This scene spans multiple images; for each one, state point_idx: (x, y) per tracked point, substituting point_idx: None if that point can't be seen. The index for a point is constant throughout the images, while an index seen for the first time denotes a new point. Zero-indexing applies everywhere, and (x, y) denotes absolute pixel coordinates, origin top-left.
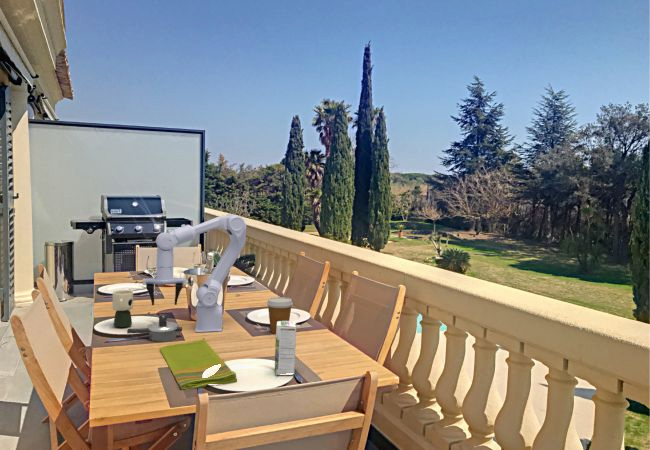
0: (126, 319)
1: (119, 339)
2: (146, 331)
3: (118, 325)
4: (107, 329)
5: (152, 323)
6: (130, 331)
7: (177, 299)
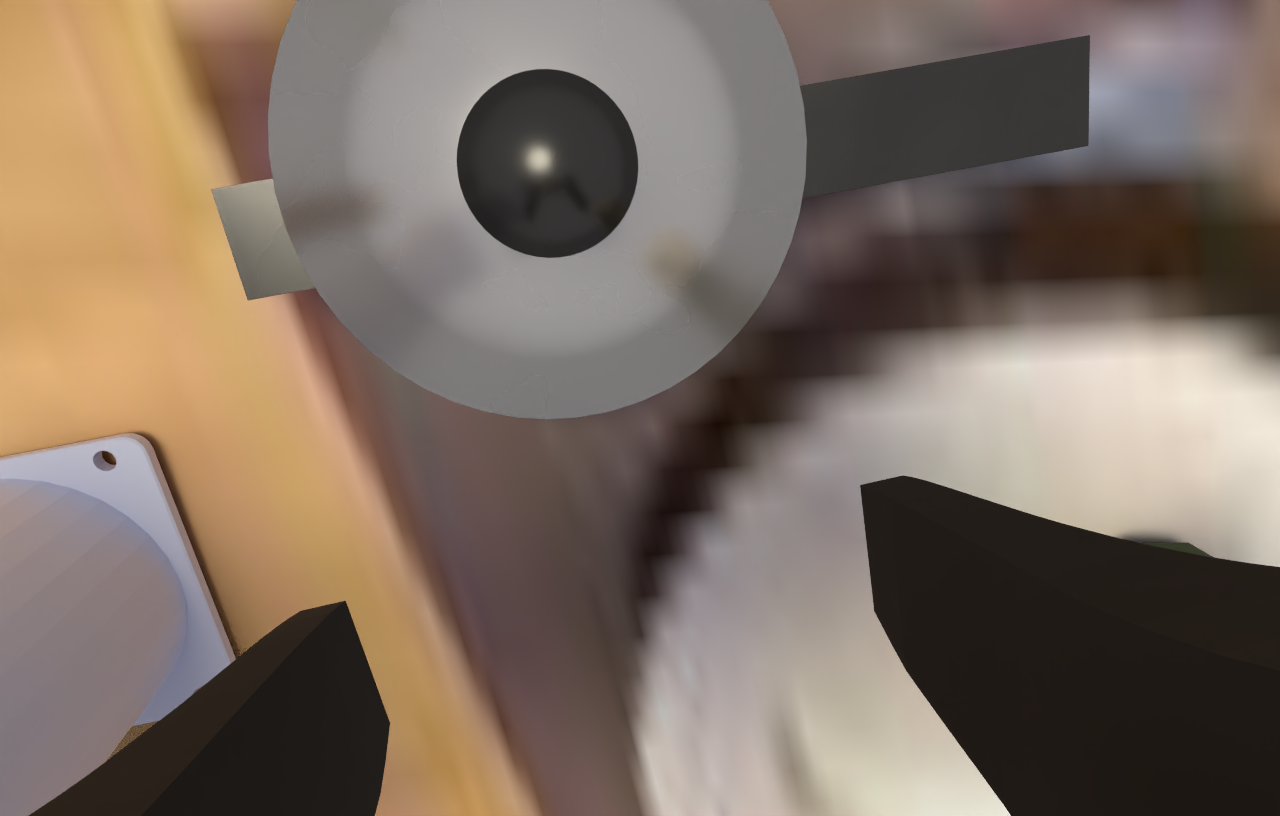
0: None
1: (1101, 80)
2: None
3: (1189, 548)
4: (1270, 499)
5: (756, 297)
6: (1031, 47)
7: (199, 696)
